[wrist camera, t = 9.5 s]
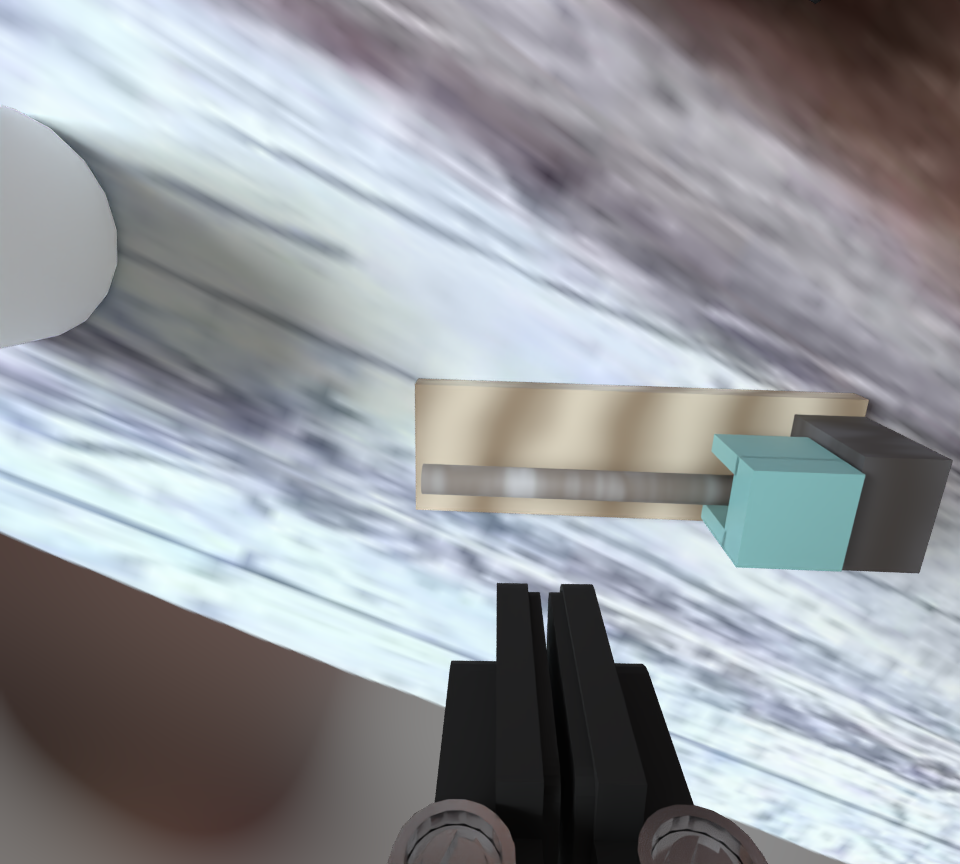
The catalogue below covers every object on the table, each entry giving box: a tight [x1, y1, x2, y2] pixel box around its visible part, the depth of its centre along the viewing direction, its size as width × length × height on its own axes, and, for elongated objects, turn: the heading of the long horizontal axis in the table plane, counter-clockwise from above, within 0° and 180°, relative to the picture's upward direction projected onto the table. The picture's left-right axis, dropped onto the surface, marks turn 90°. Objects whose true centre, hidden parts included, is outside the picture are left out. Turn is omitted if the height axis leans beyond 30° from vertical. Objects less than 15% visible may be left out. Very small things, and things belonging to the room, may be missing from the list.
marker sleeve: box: [701, 434, 865, 572], centre depth 30 cm, size 5×5×5 cm
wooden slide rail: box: [415, 379, 953, 573], centre depth 33 cm, size 26×8×8 cm, turn 88°
